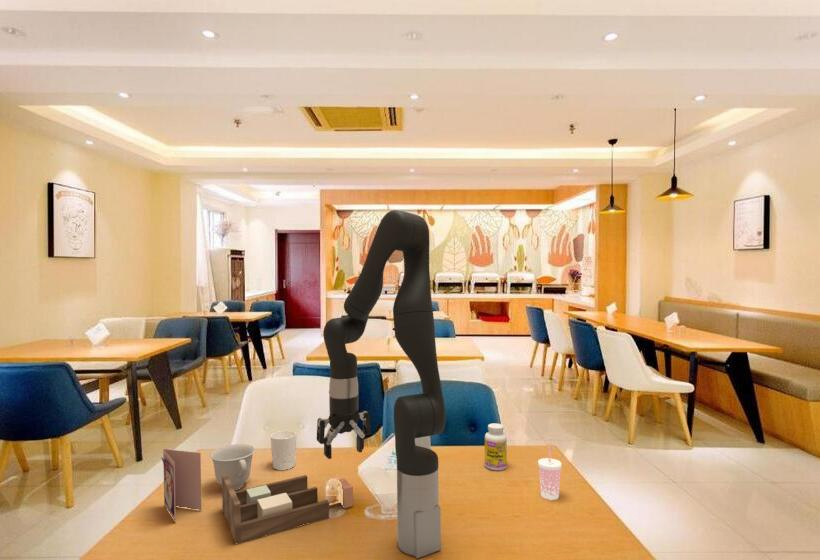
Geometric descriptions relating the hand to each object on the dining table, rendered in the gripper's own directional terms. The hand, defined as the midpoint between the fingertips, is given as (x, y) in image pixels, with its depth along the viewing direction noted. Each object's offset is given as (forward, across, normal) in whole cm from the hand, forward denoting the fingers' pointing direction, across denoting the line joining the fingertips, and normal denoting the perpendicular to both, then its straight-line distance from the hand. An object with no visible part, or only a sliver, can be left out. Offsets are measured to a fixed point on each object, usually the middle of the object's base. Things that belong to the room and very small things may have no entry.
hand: (344, 454), depth 123 cm
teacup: (+13, -24, +23) cm, 36 cm away
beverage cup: (+13, +49, -25) cm, 56 cm away
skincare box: (+13, +32, +14) cm, 37 cm away
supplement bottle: (+13, +49, -3) cm, 51 cm away
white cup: (+14, -8, +32) cm, 35 cm away
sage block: (+13, -20, +8) cm, 25 cm away
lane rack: (+13, -17, +4) cm, 22 cm away
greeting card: (+13, -38, +17) cm, 43 cm away
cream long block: (+12, -11, -1) cm, 16 cm away
